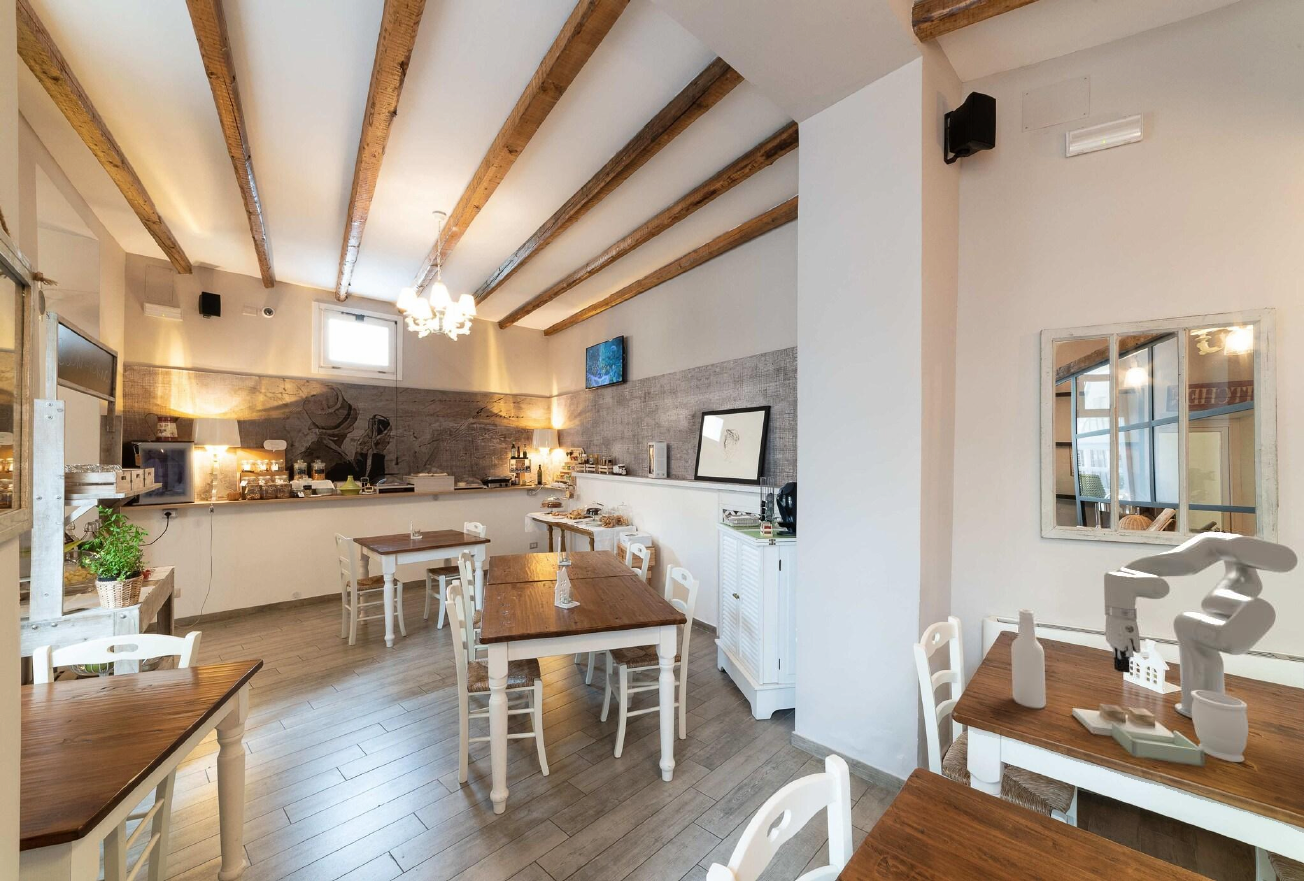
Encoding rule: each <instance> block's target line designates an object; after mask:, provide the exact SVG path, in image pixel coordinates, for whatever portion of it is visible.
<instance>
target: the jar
mask: <svg viewBox="0 0 1304 881" xmlns="http://www.w3.org/2000/svg"><path fill="white" fill-rule="evenodd" d="M1191 696H1192V697H1193V698H1194V700H1193V703H1192V718H1191V719H1192V723H1193V725H1194V726H1193V727H1194V731H1195V734H1196V737H1197V739H1198V740H1199V742H1200V743H1199V744H1198V747H1199V748H1201V749H1202V750H1204V754H1206V755H1208V756H1210V757H1213V758H1216V759H1220V760H1223V761H1226V762H1232V763H1241V762H1242V763H1243V762H1244V761H1245V757H1244V756H1243V754H1242V753H1243V752H1244V750H1245V749H1246V746H1247V741H1248V735H1249V722H1248V717H1247V716H1246V714H1245V712H1244V710H1246V711H1247V709H1248V705H1247V703H1246V702H1245V701H1243V700H1241V699H1239V698H1236V697H1234V696H1231V695H1228V694H1226V693H1225V694H1221V693H1216V692H1211V691H1204V690H1194V691H1191Z"/></svg>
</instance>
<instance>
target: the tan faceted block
mask: <svg viewBox="0 0 1304 881" xmlns="http://www.w3.org/2000/svg"><path fill="white" fill-rule="evenodd" d="M1126 710H1127V712H1126V713H1127V714H1126V715H1128V718H1129V719H1131V720H1132V721H1133V722H1134V723H1136V724H1139V725H1147V726H1154V727H1155V721H1156V715H1154V714H1153V713H1151V712H1150V711H1149V710H1147V709H1145V708H1137V707H1129V706H1127V707H1126Z"/></svg>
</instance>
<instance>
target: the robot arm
mask: <svg viewBox="0 0 1304 881" xmlns="http://www.w3.org/2000/svg"><path fill="white" fill-rule="evenodd" d="M1219 561H1223V563H1224V568H1225V573H1224V576H1223V577H1222V578H1221V579H1220V581H1219V582H1218V583H1216V585H1215V586H1213V588H1211V589H1210V591H1208V592H1207V594H1206V595H1205V596H1204V598H1203V599H1202V601H1201V603H1200V606H1201V609H1202V611H1203V612H1204V613H1206V614H1204V613H1198V612H1192V611H1189V612H1188V611H1186V612H1185V611H1184V612H1182V613H1180V614H1177V615H1176V616H1175V617H1174V620H1173V630H1174V634H1175V638H1176V640H1177V645H1178V653H1179V655H1178V656H1179V675H1180V693H1181V694H1180V696H1181V698H1180V699H1181V702H1178V703H1176V704H1175V705H1174V709H1175V711H1176V712H1178V713H1179V714H1180V715H1183V716H1185V717H1187V718H1189V719H1192V703H1193V700H1194V698H1193V697H1192V696H1191V691H1194V690H1204V691H1211V692H1216V693H1221V694H1225V695H1226V689H1225V688H1226V687H1225V665H1224V661H1223V657H1222V655H1221V653H1222V654H1223V653H1224V654H1225V655H1227V654H1228V655H1230V656H1231V655H1232V656H1241V655H1243V654H1246V653H1247V652H1249V651H1250V650H1251V649H1252V648H1253V647H1255V645H1256V644H1258V642H1259V641H1260V640H1261V639H1262V638H1263V637H1264V636H1265V635H1266V634H1267V633H1268V632H1270V629H1271V628H1272V627H1273V626H1274V625H1275V621H1276V615H1277V613H1276V611H1275V608H1274V606H1273V605H1272V604H1271V602H1270V603H1269V602H1268V601H1267V600H1265V599H1263V598H1260V597H1259V596H1260V595H1261V593H1262V591H1263V582H1262V580H1261V579H1260V578H1261V577H1260V575H1259V574H1258V572H1257V570H1260V571H1261V570H1262V571H1265V572H1273V573H1280V574H1281V573H1288V572H1291V571H1292V570H1294V569H1295V568H1296V566H1297V565H1298V556H1297V554H1296V553H1295V552H1294V550H1293V549H1291V548H1290V547H1288V546H1286V545H1283V544H1279V543H1275V542H1270V541H1266V540H1262V539H1258V538H1254V537H1250V536H1246V535H1240V534H1236V533H1235V534H1234V533H1233V534H1232V533H1224V532H1218V531H1216V532H1215V531H1208V532H1203V533H1200V534H1197V535H1196V536H1195V537H1193V538H1191V539H1189V540H1187V541H1186V542H1184V543H1182V544H1181V545H1179V546H1177V547H1175V548H1173V549H1172V550H1169V551H1167V552H1161V553H1158V554H1157V553H1155V554H1152V555H1149V556H1145V557H1140V558H1137V559H1135V560H1133V561H1130V562H1128V563H1126V564H1125V565H1122V566H1121V567H1120V568H1118V569H1117V570H1116V571H1108V572H1106V573H1104V575H1103V585H1104V586H1103V589H1104V590H1103V591H1104V592H1103V594H1104V596H1103V597H1104V616H1106V617H1105V628H1104V630H1105V640H1106V643H1108V644H1109V646H1110V648H1112V653H1113V654H1112V655H1113V663H1114V664H1113V665H1114V667H1113V668H1114V670H1115V671H1117V672H1119V673H1120V672H1121V673H1128V674H1129V673H1130V670H1131V669H1130V667H1131V666H1130V661H1131V658H1134V657H1135V656H1134V653H1136V654H1139V653H1140V654H1141V638H1140V631H1139V626H1138V625H1139V624H1138V622H1137V621H1138V616H1137V614H1138V611H1137V598H1144V599H1149V600H1160V599H1163V598H1164V599H1165V597H1167V596H1168V595H1169V593H1170V591H1171V589H1170V588H1171V587H1170V585H1169V583H1168V582H1167V581H1166V580H1165V579H1164V578H1163V577H1166V578H1167V577H1190V576H1194V575H1197V574H1198V573H1201V572H1202V571H1204V570H1206V569H1207V568H1209V567H1211V566H1213V565H1214V564H1216V563H1218V562H1219ZM1244 712H1245V714H1246V717H1247V716H1248V712H1247V709H1246V710H1244Z"/></svg>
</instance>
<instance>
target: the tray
mask: <svg viewBox="0 0 1304 881" xmlns="http://www.w3.org/2000/svg"><path fill="white" fill-rule="evenodd" d="M1173 734H1174V743H1167V742H1160V741H1152V740H1145V739H1138V738H1132V737H1131V736H1129V735H1128V734H1127V733H1126V732H1125V731H1124V730H1122V729H1121V728H1120V727H1119V726H1118V725H1117V724H1115V723H1112V736H1111V737H1112V738H1113V739H1114V740H1115V741H1116V742H1117V743H1119V745H1120V746H1121V747H1122V748H1124V749H1125V750H1126V751H1127V752H1128V753H1129V754H1130V755H1132V756H1133V757H1135V758H1144V759H1150V760H1156V761H1163V762H1171V763H1179V764H1185V765H1191V766H1198V767H1206V761H1205V752H1204V750H1202V749H1201V748H1199V745H1197V744H1195V743H1194V742H1193V741H1191V740H1190V739H1188V738H1187V737H1186V736H1185V735H1183V734H1182V733H1180V732H1179V731H1177V730H1173Z"/></svg>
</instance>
